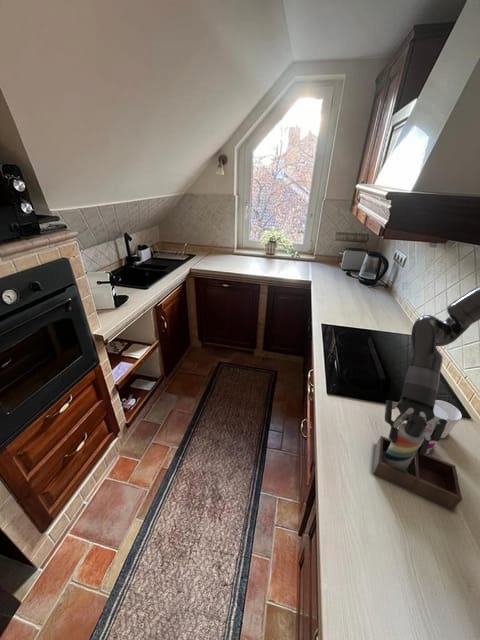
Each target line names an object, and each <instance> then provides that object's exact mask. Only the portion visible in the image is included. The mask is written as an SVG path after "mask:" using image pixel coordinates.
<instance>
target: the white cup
mask: <svg viewBox="0 0 480 640" xmlns="http://www.w3.org/2000/svg"><path fill="white" fill-rule="evenodd" d="M435 403H436V404H438V405H440V406H441V407H443V408H444V409H445V410H446V411H447V412H448V414H449V423H448V425H447V427H446V428H445V430H444V431H443V433H442V435H441V437H440V439H445V438H446V437H447V436H448V435H449V433H451V432H452V430H454V428H455V427H456V426H457V424H458V423H459V422H460V420H461V419H462V418H463V416H462V413H461V411H460V409H458V408H457V407H456V406H454V405H453V404H452V403H449V402H448V401H444V400H439V399H436V400H435Z"/></svg>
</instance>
